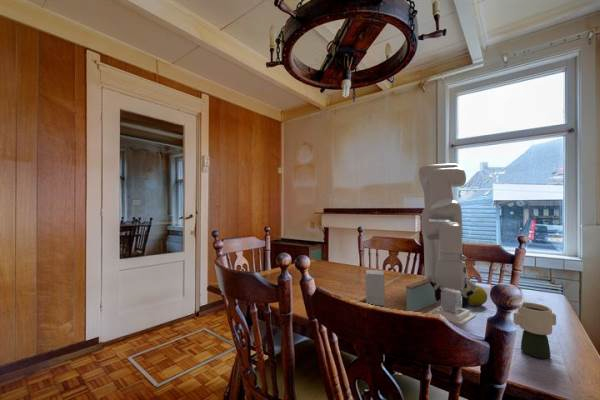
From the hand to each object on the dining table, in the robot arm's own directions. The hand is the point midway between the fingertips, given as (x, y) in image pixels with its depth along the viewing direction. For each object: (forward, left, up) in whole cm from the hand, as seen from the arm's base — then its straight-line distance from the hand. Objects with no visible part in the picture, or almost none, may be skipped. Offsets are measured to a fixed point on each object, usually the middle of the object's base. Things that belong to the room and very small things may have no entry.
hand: (451, 303), depth 101 cm
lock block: (0, 0, -4) cm, 4 cm away
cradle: (0, 0, -4) cm, 4 cm away
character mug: (+9, +26, -4) cm, 28 cm away
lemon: (-17, +1, -4) cm, 18 cm away
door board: (0, -11, -4) cm, 12 cm away
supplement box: (+11, -26, -4) cm, 29 cm away
